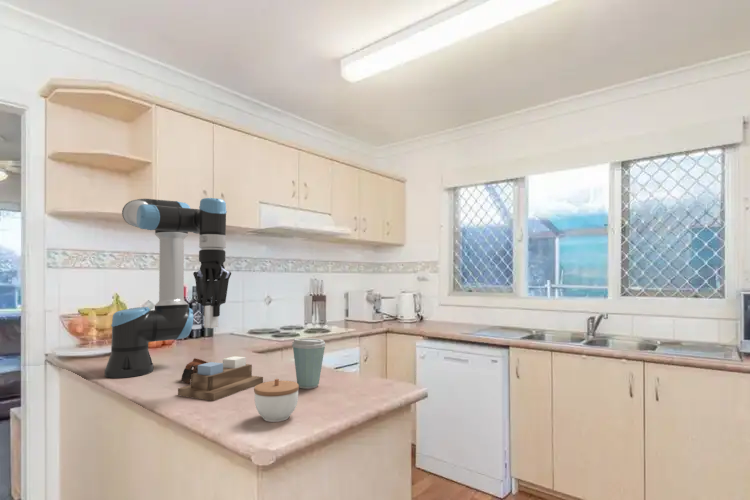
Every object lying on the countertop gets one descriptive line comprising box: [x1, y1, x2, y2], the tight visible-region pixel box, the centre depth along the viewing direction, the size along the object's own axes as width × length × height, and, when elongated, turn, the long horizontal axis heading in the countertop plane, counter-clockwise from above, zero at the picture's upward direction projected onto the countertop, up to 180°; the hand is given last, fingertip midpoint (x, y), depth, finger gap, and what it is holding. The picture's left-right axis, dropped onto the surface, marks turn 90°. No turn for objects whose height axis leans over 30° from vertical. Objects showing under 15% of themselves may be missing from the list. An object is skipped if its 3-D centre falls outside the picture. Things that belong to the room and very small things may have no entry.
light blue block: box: [198, 361, 223, 376], centre depth 126 cm, size 5×5×4 cm
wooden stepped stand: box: [177, 363, 264, 402], centre depth 130 cm, size 14×21×6 cm, turn 156°
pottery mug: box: [180, 357, 209, 385], centre depth 141 cm, size 12×10×8 cm
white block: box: [222, 355, 247, 369], centre depth 135 cm, size 5×5×4 cm
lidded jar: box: [253, 378, 299, 423], centre depth 104 cm, size 11×11×9 cm
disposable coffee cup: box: [291, 337, 326, 390], centre depth 133 cm, size 11×11×15 cm
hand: (211, 327), depth 127 cm, fingers closed
